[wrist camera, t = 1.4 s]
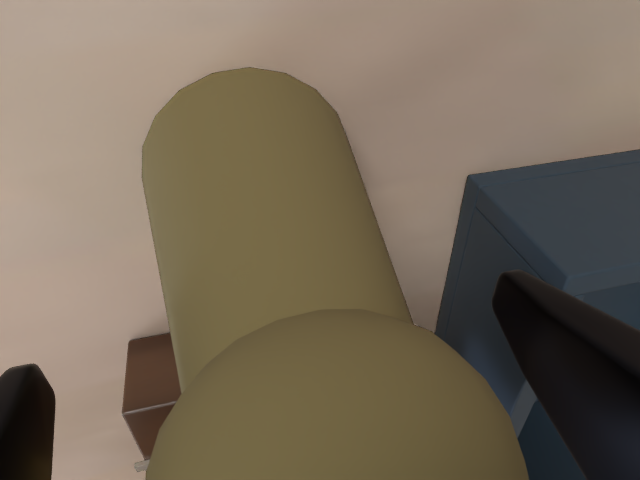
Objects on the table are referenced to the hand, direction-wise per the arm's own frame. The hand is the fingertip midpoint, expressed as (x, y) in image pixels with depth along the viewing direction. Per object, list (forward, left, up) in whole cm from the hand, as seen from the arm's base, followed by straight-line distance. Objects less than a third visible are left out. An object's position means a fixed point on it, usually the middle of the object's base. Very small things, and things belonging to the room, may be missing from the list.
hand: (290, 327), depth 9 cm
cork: (0, 0, -6) cm, 6 cm away
